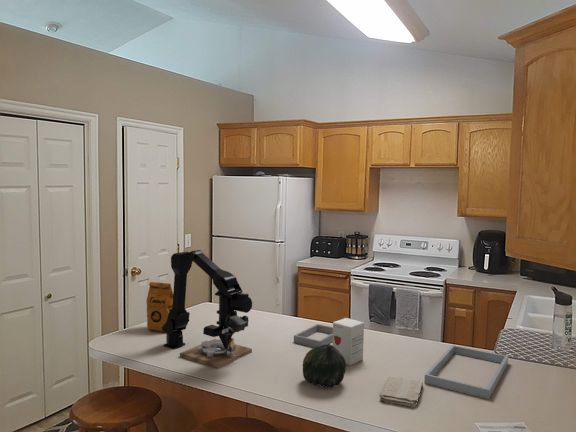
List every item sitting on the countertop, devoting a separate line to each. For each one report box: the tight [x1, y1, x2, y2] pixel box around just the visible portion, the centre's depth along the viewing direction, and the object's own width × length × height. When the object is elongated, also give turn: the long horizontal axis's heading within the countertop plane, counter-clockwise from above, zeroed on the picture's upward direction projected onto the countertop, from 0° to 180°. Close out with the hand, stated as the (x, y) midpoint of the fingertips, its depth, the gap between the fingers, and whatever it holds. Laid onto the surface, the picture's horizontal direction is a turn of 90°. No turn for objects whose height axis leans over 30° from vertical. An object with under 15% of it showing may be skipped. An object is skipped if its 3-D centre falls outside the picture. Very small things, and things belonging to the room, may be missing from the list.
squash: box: [302, 343, 347, 389], centre depth 163 cm, size 14×15×15 cm
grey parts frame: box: [293, 323, 333, 348], centre depth 209 cm, size 13×20×3 cm, turn 147°
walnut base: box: [179, 338, 253, 369], centre depth 189 cm, size 20×20×2 cm
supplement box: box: [331, 317, 365, 366], centre depth 185 cm, size 9×9×15 cm
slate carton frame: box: [423, 344, 509, 400], centre depth 174 cm, size 21×36×3 cm, turn 147°
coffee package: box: [146, 281, 174, 333], centre depth 218 cm, size 10×12×22 cm
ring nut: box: [197, 337, 237, 358], centre depth 188 cm, size 14×17×7 cm
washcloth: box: [379, 375, 424, 408], centre depth 157 cm, size 12×18×3 cm, turn 159°
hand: (226, 348), depth 181 cm, fingers closed
